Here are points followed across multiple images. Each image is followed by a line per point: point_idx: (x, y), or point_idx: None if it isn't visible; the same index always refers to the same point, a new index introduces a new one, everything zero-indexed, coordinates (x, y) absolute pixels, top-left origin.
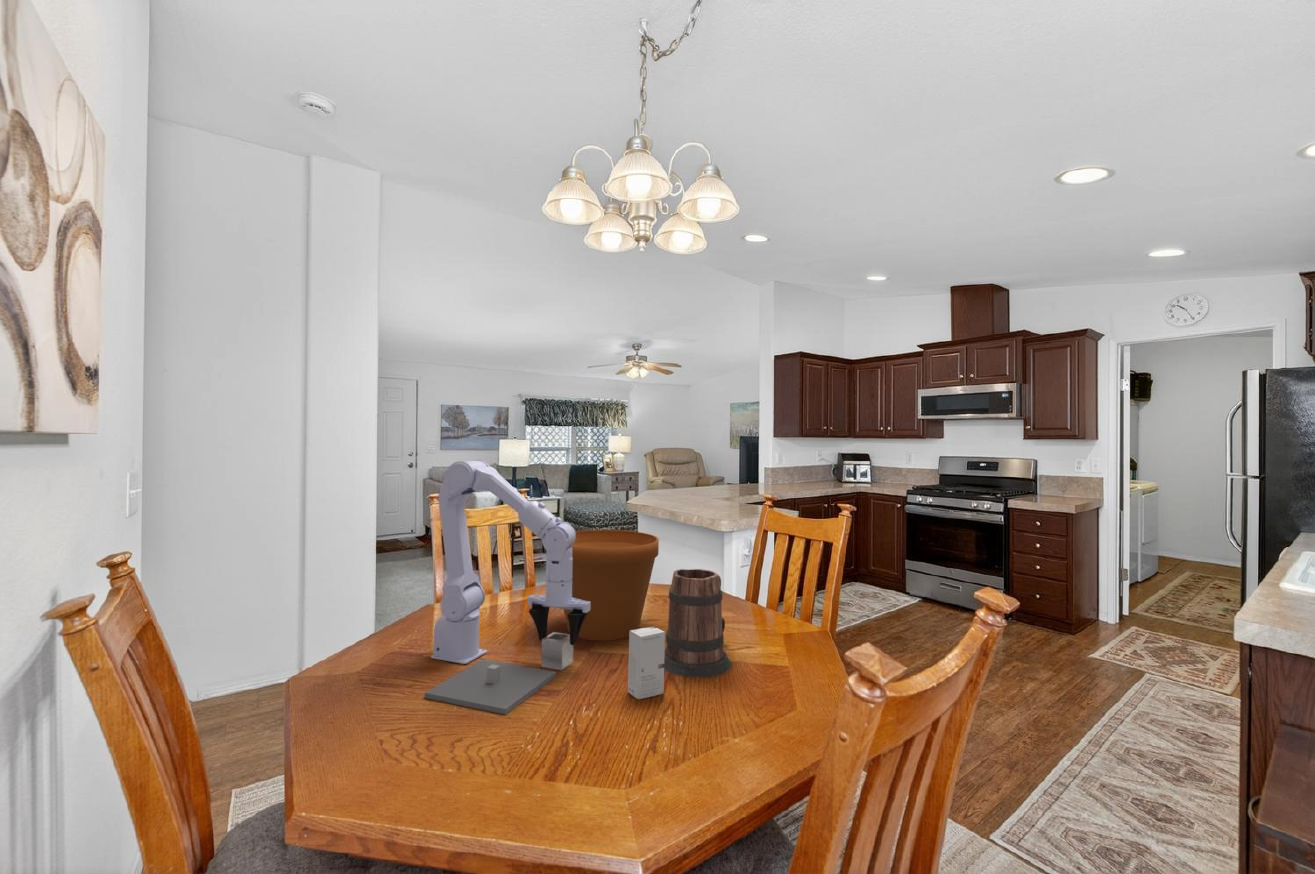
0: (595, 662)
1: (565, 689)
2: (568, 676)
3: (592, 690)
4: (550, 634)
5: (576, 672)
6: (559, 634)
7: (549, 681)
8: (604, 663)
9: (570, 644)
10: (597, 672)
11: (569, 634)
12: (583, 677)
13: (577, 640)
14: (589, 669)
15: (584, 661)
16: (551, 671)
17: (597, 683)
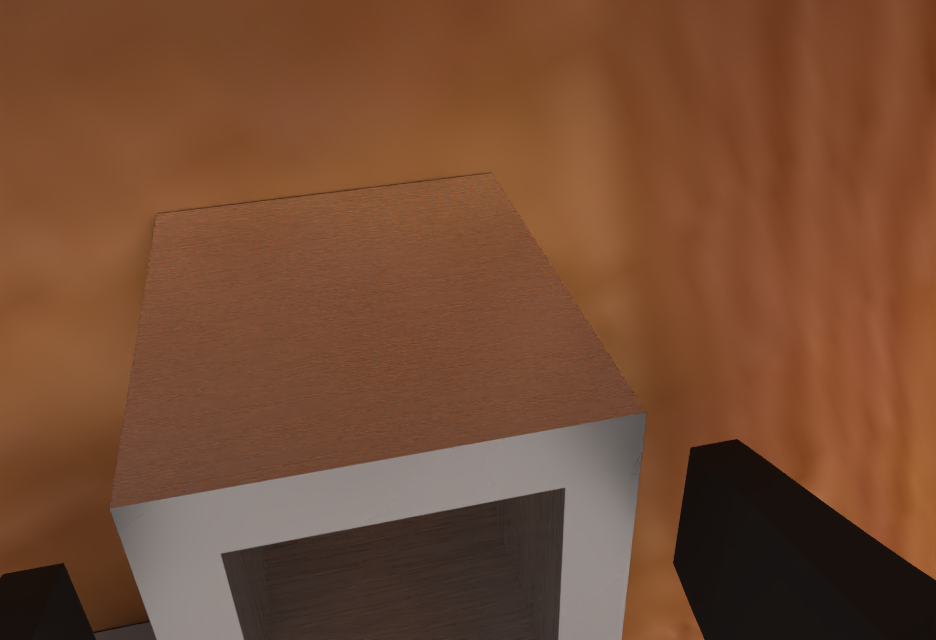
0: (784, 31)
1: (702, 635)
2: None
3: (899, 551)
4: (175, 629)
5: (663, 383)
6: (339, 524)
7: None
8: (908, 4)
9: (680, 569)
10: (873, 278)
11: (555, 440)
12: (768, 430)
13: (760, 459)
14: (771, 257)
15: (629, 74)
16: None
17: (916, 454)
